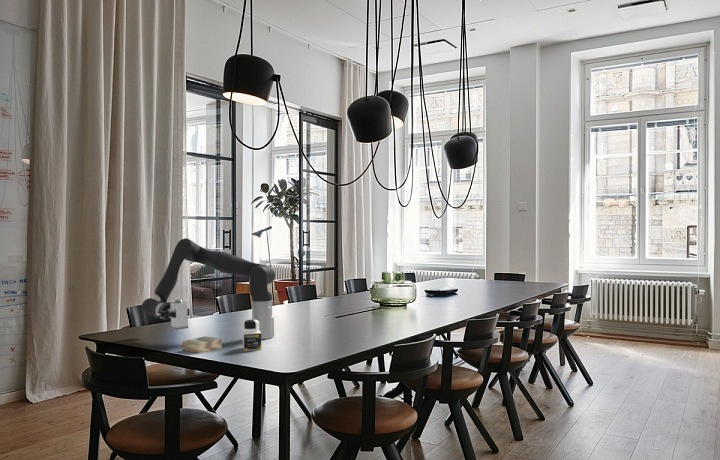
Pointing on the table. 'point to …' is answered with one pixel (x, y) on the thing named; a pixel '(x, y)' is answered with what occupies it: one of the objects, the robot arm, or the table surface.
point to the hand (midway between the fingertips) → (181, 314)
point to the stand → (202, 344)
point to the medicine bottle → (251, 335)
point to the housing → (179, 315)
